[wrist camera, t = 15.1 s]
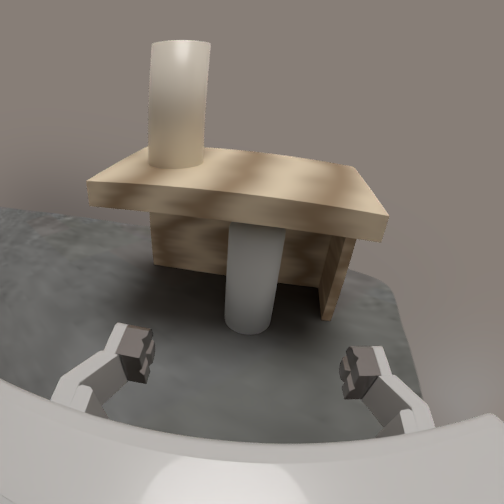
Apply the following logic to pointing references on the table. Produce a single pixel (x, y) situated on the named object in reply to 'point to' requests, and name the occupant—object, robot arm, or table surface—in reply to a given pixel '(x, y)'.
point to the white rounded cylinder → (177, 103)
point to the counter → (249, 211)
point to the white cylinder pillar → (252, 276)
